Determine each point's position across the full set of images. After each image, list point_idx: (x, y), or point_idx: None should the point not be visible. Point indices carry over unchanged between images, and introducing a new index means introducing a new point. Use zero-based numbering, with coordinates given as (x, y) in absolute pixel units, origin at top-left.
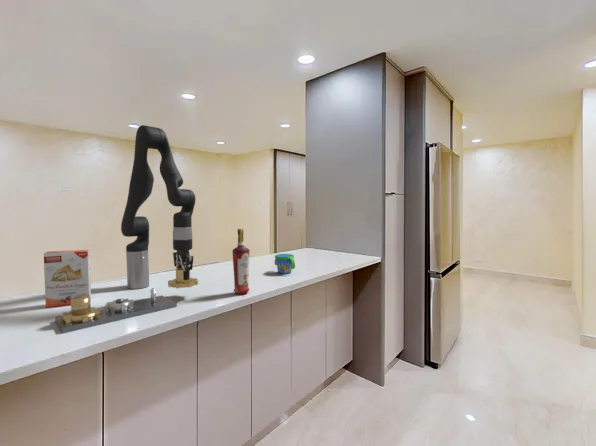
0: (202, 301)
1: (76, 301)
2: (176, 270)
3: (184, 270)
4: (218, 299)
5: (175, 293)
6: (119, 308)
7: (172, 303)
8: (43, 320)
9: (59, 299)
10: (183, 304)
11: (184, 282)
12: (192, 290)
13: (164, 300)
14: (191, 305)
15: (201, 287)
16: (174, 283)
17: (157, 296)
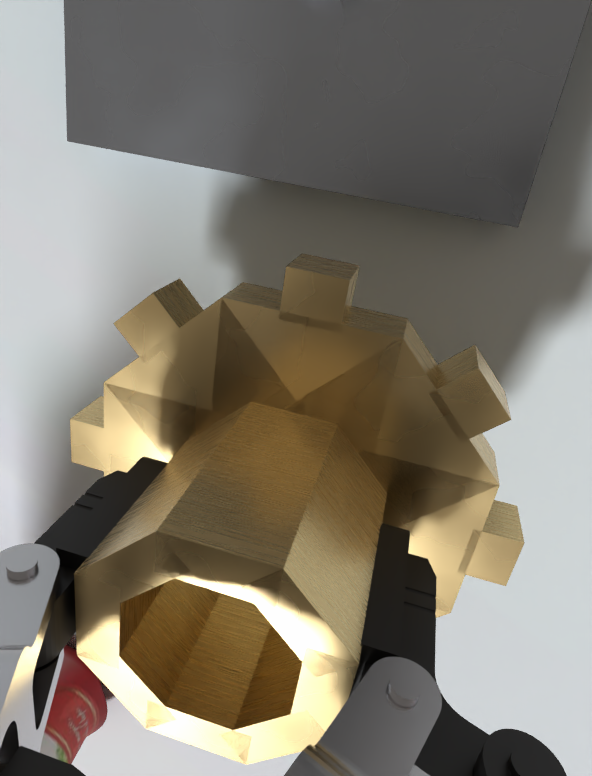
0: (76, 395)
1: None
2: (249, 542)
3: (8, 554)
4: (35, 494)
5: (565, 456)
6: None
7: (74, 88)
8: None
9: None
10: (116, 234)
11: (175, 443)
12: (481, 601)
13: (265, 99)
14: (33, 259)
15: (488, 699)
16: (232, 323)
17: (533, 154)
